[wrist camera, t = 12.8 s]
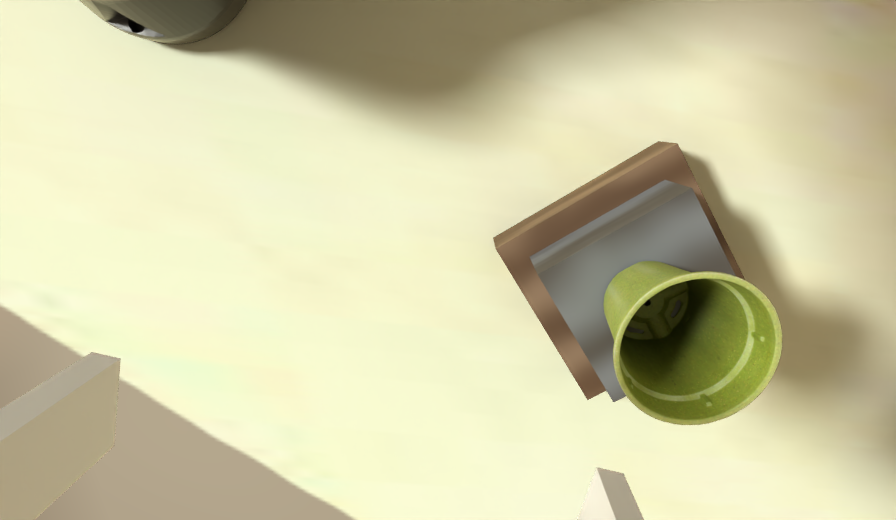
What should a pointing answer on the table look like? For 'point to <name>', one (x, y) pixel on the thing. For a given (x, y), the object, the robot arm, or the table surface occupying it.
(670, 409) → the plant pot
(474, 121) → the table surface
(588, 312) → the pedestal
